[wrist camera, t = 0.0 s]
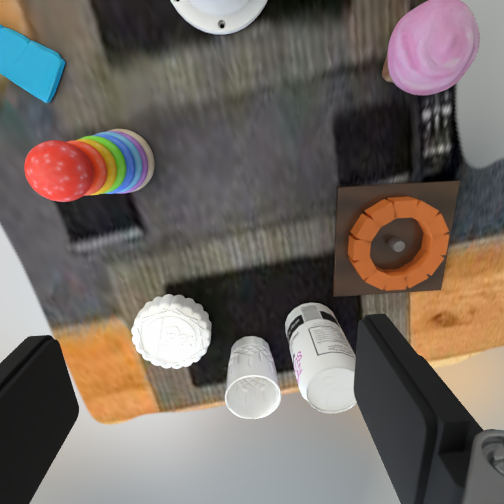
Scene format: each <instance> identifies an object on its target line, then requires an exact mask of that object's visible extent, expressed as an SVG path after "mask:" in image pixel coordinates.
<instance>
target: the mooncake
mask: <svg viewBox="0 0 504 504" xmlns="http://www.w3.org/2000/svg"><path fill="white" fill-rule="evenodd" d="M208 319H209V315H208V313H207V312H205V311H203V307H202V305H200V304H197V303H196V304H195V301H194V300H193V299H191V298H186V299H185V297H184V296H182V295H176V296H173V295H171V294H167V295H165V296H163V297H155V298H154V299H153V301H149V302H147V303H146V304H145V306H144V308H143V309H141V310H140V311H139V313H138V315H137V317H136V319H135V321H134V326H133V327H132V334H133V337H132V342H133V343H134V344H135V345H136V350H137V352H139V353H141V354H142V357H143V358H144V359H145V360H148V361H151V363H152V364H153V365H157V366H158V365H161V366H162V367H163V368H170V367H173V368H175V369H178V368H181V367H182V366H185V367H187V366H190V365H191V364H192V362H197V361H199V360H200V358H201V356H202V355H204V354H205V353H206V351H207V347H208V346H209V344H210V339H211V326H212V324H211V322H210V320H208Z"/></svg>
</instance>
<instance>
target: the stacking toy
mask: <svg viewBox="0 0 504 504" xmlns="http://www.w3.org/2000/svg"><path fill="white" fill-rule="evenodd" d="M153 172H154V156H153V153H152V151H151V148H150V147H149V145H148V144H147V142H146V141H145V140H144V139H143V138H142V137H141V136H139V135H138V134H136V133H134V132H132V131H130V130H126V129H113V130H109V131H107V132H101V133H98V134H95V135H92V136H86V137H83V138H80V139H78V140H75V141H68V142H64V141H56V140H54V141H46V142H43V143H40V144H39V145H37V146H35V147H34V148H33V149H32V150H31V151H30V152H29V153H28V155H27V157H26V160H25V175H26V178H27V180H28V182H29V184H30V185H31V186H32V188H33V189H34V190H35V191H36V192H38V193H39V194H40V195H42V196H44V197H46V198H48V199H50V200H54V201H60V202H67V201H73V200H76V199H78V198H80V197H82V196H83V195H98V194H103V193H106V194H111V193H120V194H122V193H128V192H134V191H137V190H140V189H141V188H143V187H144V186H145V185H146V184H147V183H148V182H149V181H150V179H151V177H152V175H153Z"/></svg>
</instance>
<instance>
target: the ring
mask: <svg viewBox="0 0 504 504" xmlns="http://www.w3.org/2000/svg"><path fill="white" fill-rule="evenodd" d="M365 213H366V215H367V216H366V215H364V214H361V215H360V217H359V219H358V220H357V222H356V223H355V225H354V226H353V228H352V230H351V231H350V232H351V233H352V234H353V235H349V244H348V255H349V260H350V261H351V263H352V265H353V266H354V268H355V270H356V272H357V273H358V274H359V276H360V277H361V278H362V279H363V280H364V281H365V282H366V283H368V284H371V285H373V286H375V287H377V288H379V289H381V290H383V289H385V291H388V290H404V289H406V286H407V287H408V288H411V287H413V286H415V285H417V284H418V283H420V282H422V281H424V280H426V279H428V276H427V274H429V275H432V274H433V273H434V272H435V270H436V269H437V268H438V266H439V265H440V264H441V262H442V261H443V260H444V257H442V256H440V255H446V252H447V247H448V241H449V234H448V233H447V232H449V230H448V228H447V225H446V223H445V221H444V218H443V216H442V214H441V213H439V210H437V209H435V208H434V207H432V206H430V205H428V204H426V203H425V202H423V201H421V200H418V199H416V198H413V197H412V198H411V197H393V198H387V200H385V199H383V200H381V201H380V202H378V203H376V204H375V205H373V206H371V207H370V208H368V209H367V210H365ZM411 217H412V218H414V219H416V220H417V221H418V223H419V225H420V227H421V229H422V231H423V239H422V246H421V249H420V250H419V252H418V253H417V254H416V256H415V257H414V259H413V260H412V261H411V262H409V263H407V264H405V265H404V266H402V267H400V268H398V269H385V270H383V269H381V268H379V267H377V266H375V265H374V264H373V262H372V260H371V258H370V249H371V241H372V240H373V238H374V237H375V235H376V234H377V232H378V231H379V229H380V228H381V227H382V226H384V225H386V224H387V223H389V222H391V221H392V220H394V219H396V218H411ZM426 273H427V274H426Z"/></svg>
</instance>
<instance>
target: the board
mask: <svg viewBox="0 0 504 504" xmlns="http://www.w3.org/2000/svg"><path fill="white" fill-rule="evenodd" d="M459 184H460V181H459V180H448V181H430V182H412V183H395V184H377V185H359V186H341V187H337V203H336V226H335V249H334V272H333V296H334V297H337V296H353V295H369V294H385V293H401V292H417V291H433V290H441V287H442V281H443V276H444V270H445V264H446V258H447V253H448V247H449V241H450V236H451V230H452V224H453V218H454V213H455V207H456V201H457V195H458V190H459ZM393 197H411V198H412V197H413V198H416V199H418V200H421V201H423V202H425V203H426V204H428V205H430V206H432V207H434V208H435V209H437V210H439V213H441V214H442V216H443V218H444V221H445V223H446V225H447V228H448V230H449V232H447V233H448V234H449V241H448V247H447V252H446V255H440V256H442V257H444V260H443V261H442V262H441V264H440V265H439V266H438V268H437V269H436V270H435V272H434V273H433V274H432V275H429V274H427V273H426V274H427V276H428V279H426V280H424V281H422V282H420V283H418V284H417V285H415V286H413V287H411V288H408V287H407V286H406V289H404V290H388V291H385V289H383V290H381V289H379V288H377V287H375V286H373V285H371V284H368V283H366V282H365V281H364V280H363V279H362V278H361V277H360V276H359V274H358V273H357V272H356V270H355V268H354V266H353V265H352V263H351V261H350V260H349V255H348V244H349V235H353V234H352V233H351V232H350V231H351V230H352V228H353V226H354V225H355V223H356V222H357V220H358V219H359V217H360V215H361V214H364V215H366V213H365V210H367V209H368V208H370V207H371V206H373V205H375V204H376V203H378V202H380V201H381V200H383V199H385V200H387V198H393ZM366 216H367V215H366ZM422 239H423V231H422V229H421V227H420V225H419V223H418V221H417V220H416V219H414V218H412V217H411V218H396V219H394V220H392V221H391V222H389V223H387V224H386V225H384V226H382V227H381V228H380V229H379V231H378V232H377V234H376V235H375V237H374V238H373V240H372V241H371V249H370V258H371V260H372V262H373V264H374V265H375V266H377V267H379V268H381V269H383V270H385V269H398V268H400V267H402V266H404V265H405V264H407V263H409V262H411V261H412V260H413V259H414V257H415V256H416V254H417V253H418V252H419V250H420V249H421V246H422Z"/></svg>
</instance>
